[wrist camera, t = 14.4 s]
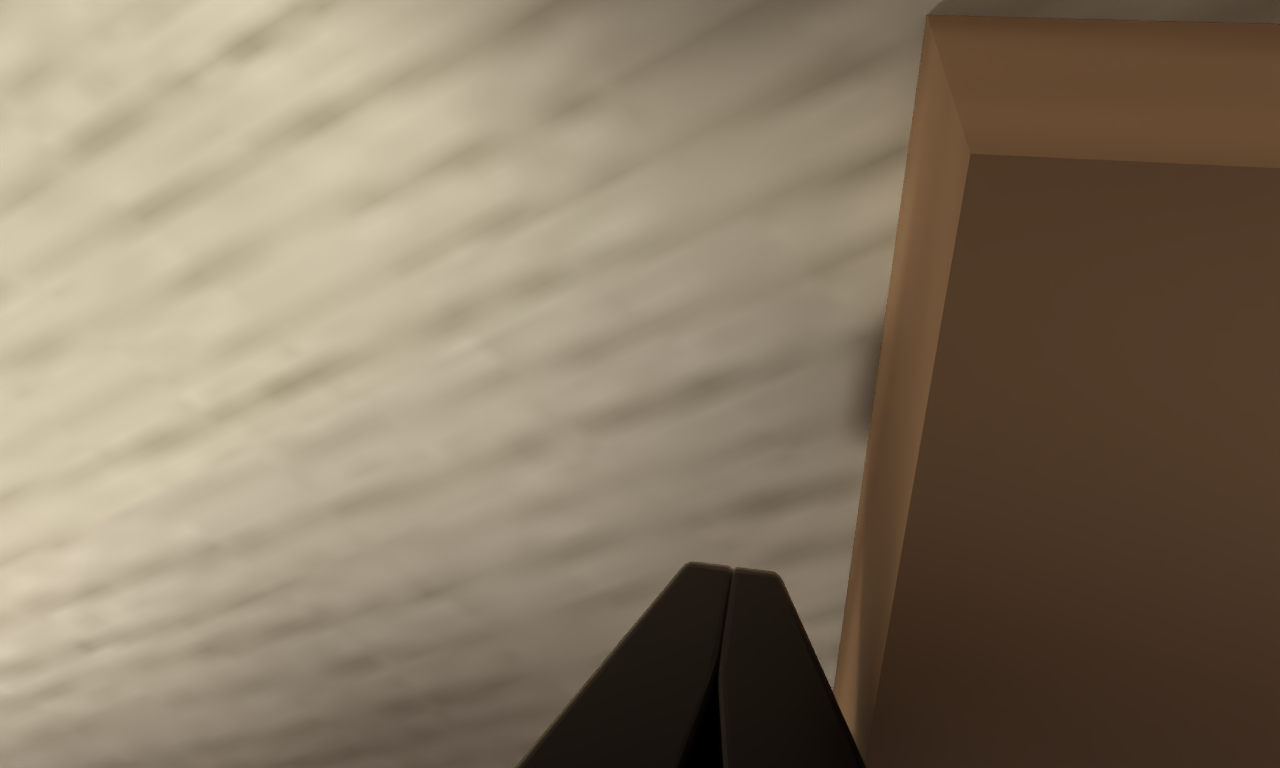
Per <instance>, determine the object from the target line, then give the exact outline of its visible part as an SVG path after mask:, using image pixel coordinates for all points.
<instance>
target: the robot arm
mask: <svg viewBox="0 0 1280 768" xmlns="http://www.w3.org/2000/svg"><path fill="white" fill-rule="evenodd" d="M515 768H867V767H866V765H865V763H864V761H863V759H862V756H861V754H860V752H859V750H858V747H857V745H856V743H855V741H854V738H853V736H852V734H851V732H850V729H849V727H848V725H847V723H846V721H845V718H844V716H843V714H842V712H841V709H840V707H839V705H838V703H837V700H836V698H835V696H834V694H833V692H832V689H831V687H830V685H829V683H828V680H827V678H826V676H825V674H824V671H823V669H822V667H821V665H820V663H819V660H818V658H817V656H816V654H815V651H814V649H813V647H812V645H811V642H810V640H809V638H808V636H807V634H806V631H805V629H804V627H803V625H802V622H801V620H800V618H799V616H798V613H797V611H796V609H795V607H794V605H793V602H792V600H791V598H790V596H789V593H788V591H787V589H786V587H785V584H784V582H783V580H782V579H781V577H780V576H779V575H778V574H777V573H775V572H772V571H764V570H757V569H749V568H741V567H736V568H734V569H732V568H731V567H729V566H725V565H718V564H710V563H702V562H689V563H687V564H685V565H684V566H683V567H682V568H681V569H680V570H679V572H678V573H677V574H676V575H675V576H674V578H673V579H672V580H671V581H670V582H669V584H668V585H667V586H666V587H665V588H664V590H663V591H662V592H661V593H660V594H659V596H658V597H657V598H656V599H655V600H654V602H653V603H652V604H651V605H650V606H649V608H648V609H647V610H646V611H645V612H644V614H643V615H642V616H641V617H640V618H639V620H638V621H637V622H636V623H635V624H634V626H633V627H632V628H631V629H630V630H629V632H628V633H627V634H626V635H625V636H624V638H623V639H622V640H621V641H620V642H619V644H618V645H617V646H616V647H615V648H614V650H613V651H612V652H611V653H610V654H609V656H608V657H607V658H606V659H605V660H604V662H603V663H602V664H601V665H600V666H599V668H598V669H597V670H596V671H595V672H594V674H593V675H592V676H591V677H590V678H589V680H588V681H587V682H586V683H585V684H584V686H583V687H582V688H581V689H580V690H579V692H578V693H577V694H576V695H575V696H574V698H573V699H572V700H571V701H570V702H569V704H568V705H567V706H566V707H565V708H564V710H563V711H562V712H561V713H560V714H559V716H558V717H557V718H556V719H555V720H554V722H553V723H552V724H551V725H550V726H549V728H548V729H547V730H546V731H545V732H544V734H543V735H542V736H541V737H540V738H539V740H538V741H537V742H536V743H535V744H534V746H533V747H532V748H531V749H530V750H529V752H528V753H527V754H526V755H525V756H524V758H523V759H522V760H521V761H520V762H519V764H518V765H517V766H516V767H515Z"/></svg>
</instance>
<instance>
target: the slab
mask: <svg viewBox="0 0 1280 768" xmlns="http://www.w3.org/2000/svg"><path fill="white" fill-rule="evenodd" d="M833 694H834V696H835V698H836V700H837V703H838V705H839V707H840V709H841V712H842V714H843V716H844V718H845V721H846V723H847V725H848V727H849V729H850V732H851V734H852V736H853V738H854V741H855V743H856V745H857V747H858V750H859V752H860V754H861V756H862V759H863V761H864V763H865V765H866V767H867V768H1280V24H1256V23H1217V22H1178V21H1139V20H1100V19H1061V18H1022V17H983V16H945V15H927V18H926V25H925V32H924V39H923V47H922V54H921V61H920V68H919V76H918V83H917V90H916V97H915V104H914V112H913V119H912V126H911V133H910V141H909V148H908V155H907V162H906V170H905V177H904V184H903V191H902V199H901V206H900V213H899V220H898V228H897V235H896V242H895V249H894V256H893V264H892V271H891V278H890V285H889V293H888V300H887V307H886V314H885V322H884V329H883V336H882V343H881V351H880V358H879V365H878V372H877V379H876V387H875V394H874V401H873V408H872V416H871V423H870V430H869V437H868V445H867V452H866V459H865V466H864V474H863V481H862V488H861V495H860V503H859V510H858V517H857V524H856V531H855V539H854V546H853V553H852V560H851V568H850V575H849V582H848V589H847V597H846V604H845V611H844V618H843V626H842V633H841V640H840V647H839V654H838V662H837V669H836V676H835V683H834V691H833Z"/></svg>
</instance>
